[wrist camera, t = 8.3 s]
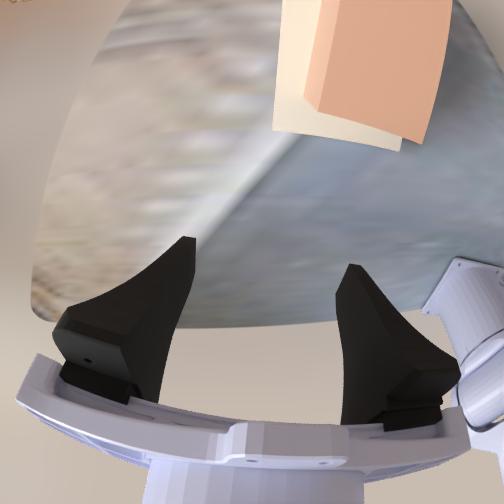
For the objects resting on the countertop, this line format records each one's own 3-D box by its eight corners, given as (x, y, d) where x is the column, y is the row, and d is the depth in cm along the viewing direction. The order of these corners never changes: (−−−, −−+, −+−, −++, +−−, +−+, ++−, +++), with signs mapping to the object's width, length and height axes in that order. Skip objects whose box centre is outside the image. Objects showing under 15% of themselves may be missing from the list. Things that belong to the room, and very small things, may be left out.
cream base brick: (399, -8, 11) (419, -17, 8) (381, 137, 18) (399, 151, 15) (285, -33, 11) (286, -51, 8) (272, 120, 18) (272, 130, 15)
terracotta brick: (400, 2, 9) (453, -16, 4) (376, 117, 14) (421, 144, 9) (325, -23, 9) (349, -62, 4) (302, 96, 14) (317, 111, 9)
